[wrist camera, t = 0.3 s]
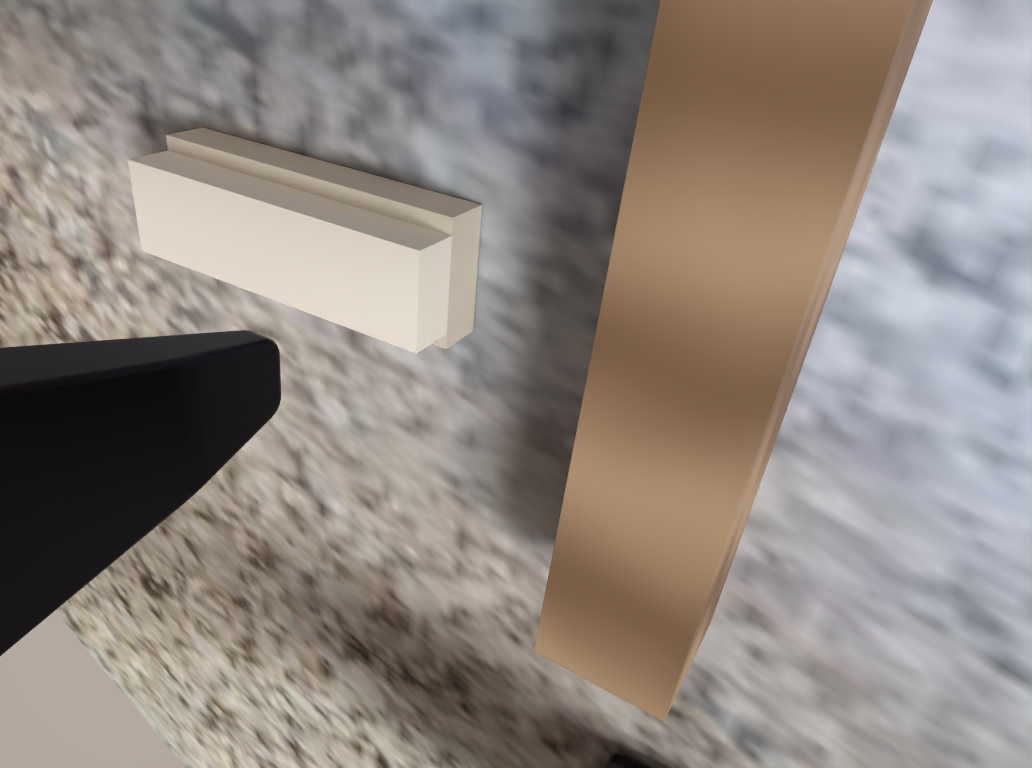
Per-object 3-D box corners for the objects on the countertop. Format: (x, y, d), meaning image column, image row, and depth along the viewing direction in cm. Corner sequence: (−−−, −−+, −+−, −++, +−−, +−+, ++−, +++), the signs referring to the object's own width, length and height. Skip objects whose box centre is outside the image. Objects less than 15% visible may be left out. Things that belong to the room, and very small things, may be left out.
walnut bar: (713, 615, 25) (663, 721, 21) (597, 560, 26) (533, 651, 23) (988, -154, 14) (979, -192, 11) (771, -173, 16) (701, -212, 12)
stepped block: (473, 330, 24) (415, 369, 22) (215, 240, 29) (144, 264, 26) (482, 204, 22) (420, 232, 20) (203, 127, 26) (125, 142, 24)
